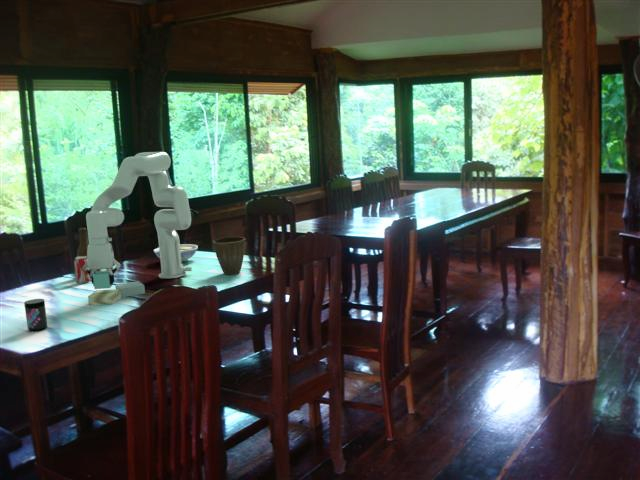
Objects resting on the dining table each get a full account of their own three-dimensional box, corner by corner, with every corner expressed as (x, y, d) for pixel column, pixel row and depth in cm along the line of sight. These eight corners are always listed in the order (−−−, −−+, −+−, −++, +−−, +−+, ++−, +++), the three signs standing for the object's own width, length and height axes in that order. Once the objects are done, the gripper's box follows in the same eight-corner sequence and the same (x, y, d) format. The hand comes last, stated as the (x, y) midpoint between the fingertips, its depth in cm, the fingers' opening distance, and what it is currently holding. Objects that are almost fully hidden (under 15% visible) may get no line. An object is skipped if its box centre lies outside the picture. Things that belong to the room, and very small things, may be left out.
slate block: (139, 289, 299) (138, 281, 298) (145, 294, 290) (144, 285, 290) (116, 293, 295) (115, 284, 294) (121, 298, 286) (120, 288, 285)
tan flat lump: (121, 298, 286) (120, 289, 285) (113, 304, 276) (112, 295, 275) (97, 299, 286) (96, 290, 285) (89, 305, 276) (87, 296, 276)
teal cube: (112, 284, 283) (111, 270, 282) (109, 288, 277) (107, 273, 276) (98, 285, 283) (96, 271, 282) (94, 289, 277) (92, 274, 276)
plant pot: (227, 278, 309) (224, 243, 307) (209, 274, 321) (206, 240, 318) (254, 272, 319) (251, 238, 316) (235, 268, 330) (233, 235, 327)
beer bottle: (80, 279, 326) (74, 230, 321) (78, 276, 332) (72, 228, 328) (97, 277, 329) (92, 228, 325) (94, 274, 336) (89, 226, 332)
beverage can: (86, 284, 315) (83, 258, 313) (74, 284, 317) (70, 258, 315) (93, 280, 321) (90, 255, 319) (81, 281, 323) (78, 256, 321)
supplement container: (25, 329, 246) (21, 301, 244) (44, 325, 250) (40, 297, 248) (31, 333, 241) (27, 304, 239) (50, 328, 245) (47, 300, 243)
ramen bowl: (194, 265, 343) (192, 249, 341) (149, 268, 343) (147, 252, 342) (203, 256, 367) (202, 241, 366) (161, 258, 368) (159, 243, 366)
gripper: (122, 238, 281) (126, 281, 284) (79, 241, 280) (84, 284, 283) (118, 241, 274) (123, 285, 277) (74, 244, 272) (79, 288, 275)
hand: (103, 284), depth 280 cm, fingers closed on teal cube, 6 cm apart
